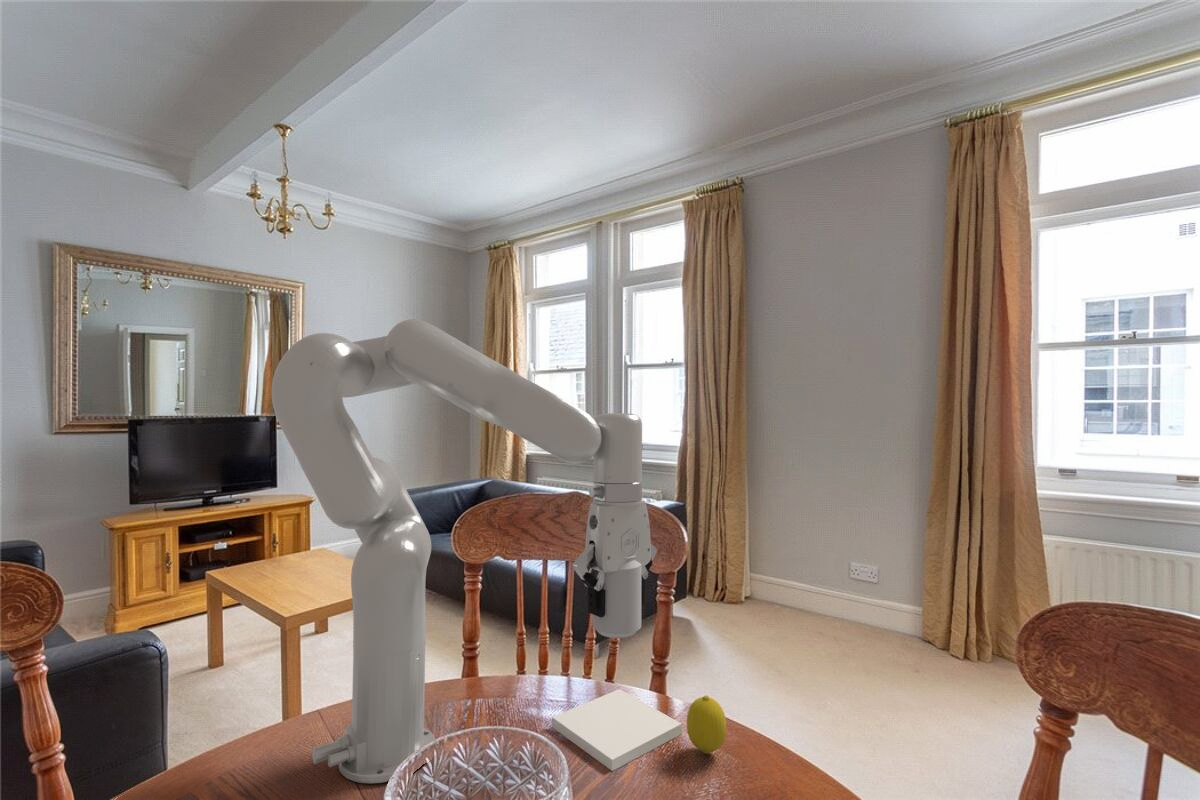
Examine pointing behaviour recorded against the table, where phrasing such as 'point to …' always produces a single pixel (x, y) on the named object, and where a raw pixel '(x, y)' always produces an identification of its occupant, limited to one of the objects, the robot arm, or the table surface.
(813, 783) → the table surface
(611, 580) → the can
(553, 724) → the plate
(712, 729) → the lemon
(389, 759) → the robot arm
